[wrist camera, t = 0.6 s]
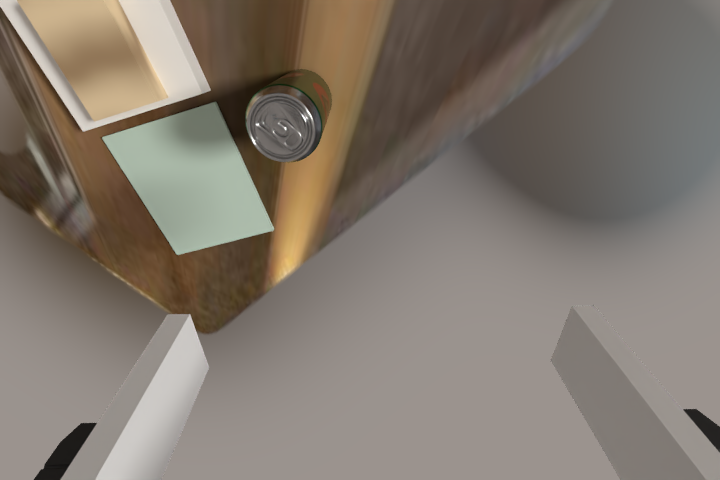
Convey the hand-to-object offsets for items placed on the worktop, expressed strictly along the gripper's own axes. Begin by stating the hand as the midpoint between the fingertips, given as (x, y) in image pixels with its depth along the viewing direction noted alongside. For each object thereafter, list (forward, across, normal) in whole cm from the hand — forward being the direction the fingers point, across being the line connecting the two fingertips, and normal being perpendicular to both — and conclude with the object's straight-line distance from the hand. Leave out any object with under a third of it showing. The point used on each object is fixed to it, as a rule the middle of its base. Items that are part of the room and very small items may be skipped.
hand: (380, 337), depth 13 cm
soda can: (+26, -6, +4) cm, 27 cm away
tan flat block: (+24, -21, +8) cm, 33 cm away
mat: (+26, -18, -4) cm, 32 cm away
